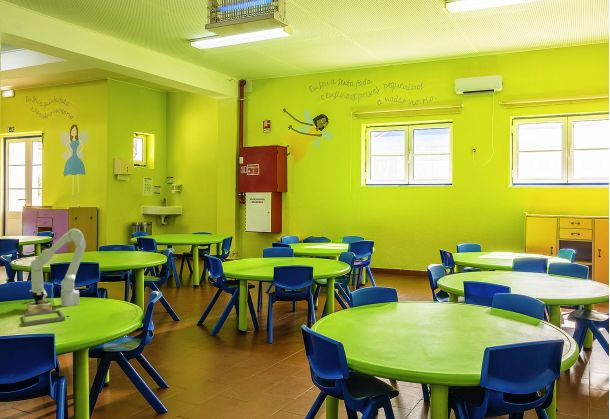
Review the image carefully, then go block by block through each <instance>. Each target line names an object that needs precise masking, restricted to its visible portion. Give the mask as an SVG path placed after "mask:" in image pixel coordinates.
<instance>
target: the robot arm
mask: <svg viewBox="0 0 610 419" xmlns="http://www.w3.org/2000/svg"><path fill="white" fill-rule="evenodd" d="M72 241H73V243H74V245H75V249H74V252H73V255H72V257H71V259H70V264H69V266H68V269H67V271H66V274H65V275H64V278H63V279H62V280H61V281H60V286H61V288H62V289H61V290H60V303H61V304H60V305H61V307H72V306H78V305H81V304H80V302H81V301H80V290H79V289H75V280H76V276H77V273H78V270H79V267H80V264H81V262H82V259H83V256H84V253H85V250H86V247H87V244H86V243H87V242H86V239H85V236H84V234H83V232H82V231H81V230H80V229H78V228H74V227H73V228H71V229H69V230H68V231H67V232H66V233H64V234H63V235H62V236H61V237H59V239H58V240H57V241H55V243H54V244H52V246H51V247H50V248H45V249H42V250H41V253H40V254H39V255H38V256H35V258H34V259H33V260H32V261H31V262H30V268H31V269H30V270H31V271H30V272H31V274H30V275H31V277H30V278H31V289H29V292H30V293H31V292H32V293H31V295H32V296H33V299H34V302H36V305H38V302H37V301H39V300H42V298H43V296H44V294H43V291H44V288H45V287H44V273H43V268H44V265H46V264H48V262H50V260H52V258H54V256H55V253H56V251H58V250H59V249H60V248H61V247H63V245H65V244H66V243H68V242H69V243H70V242H72ZM34 292H35V293H34ZM41 304H42V302H41Z"/></svg>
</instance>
